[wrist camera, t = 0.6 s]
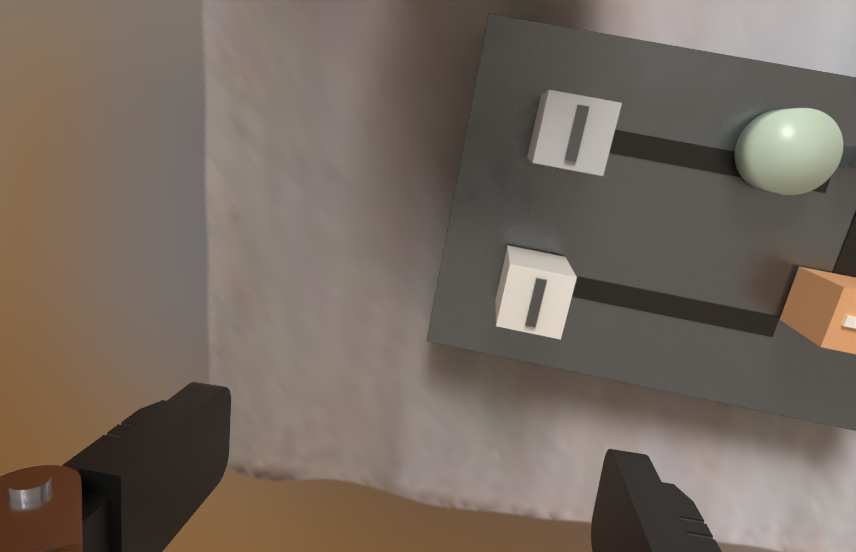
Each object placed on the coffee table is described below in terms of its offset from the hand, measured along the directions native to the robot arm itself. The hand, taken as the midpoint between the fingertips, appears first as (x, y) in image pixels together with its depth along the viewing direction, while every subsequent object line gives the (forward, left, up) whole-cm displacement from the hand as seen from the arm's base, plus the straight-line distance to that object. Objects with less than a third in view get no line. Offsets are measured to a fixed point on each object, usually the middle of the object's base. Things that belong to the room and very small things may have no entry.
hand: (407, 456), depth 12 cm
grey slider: (-7, +4, -21) cm, 22 cm away
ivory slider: (+1, +4, -21) cm, 21 cm away
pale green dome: (-8, +15, -21) cm, 27 cm away
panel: (-3, +12, -25) cm, 28 cm away
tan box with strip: (-1, +20, -21) cm, 29 cm away
